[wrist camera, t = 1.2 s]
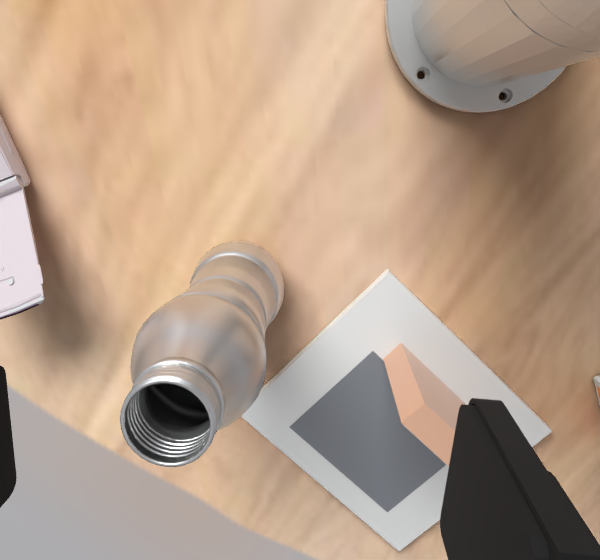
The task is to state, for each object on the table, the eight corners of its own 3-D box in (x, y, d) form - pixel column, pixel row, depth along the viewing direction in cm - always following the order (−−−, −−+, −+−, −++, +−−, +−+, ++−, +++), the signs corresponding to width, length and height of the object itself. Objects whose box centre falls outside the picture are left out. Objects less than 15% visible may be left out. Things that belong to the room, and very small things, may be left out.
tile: (400, 342, 38) (424, 403, 30) (482, 419, 40) (527, 498, 31) (381, 359, 39) (399, 424, 30) (462, 435, 40) (502, 518, 32)
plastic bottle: (290, 238, 38) (259, 347, 18) (282, 326, 39) (248, 509, 20) (201, 230, 38) (78, 330, 18) (198, 318, 40) (83, 492, 20)
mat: (387, 268, 38) (389, 272, 37) (546, 424, 41) (552, 431, 40) (240, 408, 41) (238, 414, 40) (397, 542, 44) (399, 552, 43)
